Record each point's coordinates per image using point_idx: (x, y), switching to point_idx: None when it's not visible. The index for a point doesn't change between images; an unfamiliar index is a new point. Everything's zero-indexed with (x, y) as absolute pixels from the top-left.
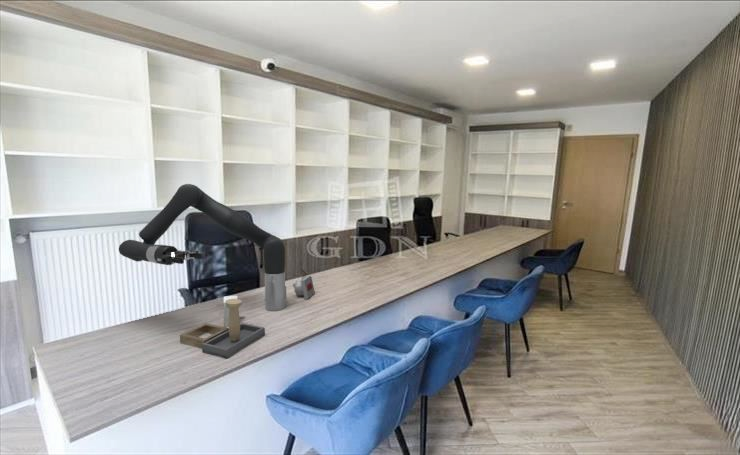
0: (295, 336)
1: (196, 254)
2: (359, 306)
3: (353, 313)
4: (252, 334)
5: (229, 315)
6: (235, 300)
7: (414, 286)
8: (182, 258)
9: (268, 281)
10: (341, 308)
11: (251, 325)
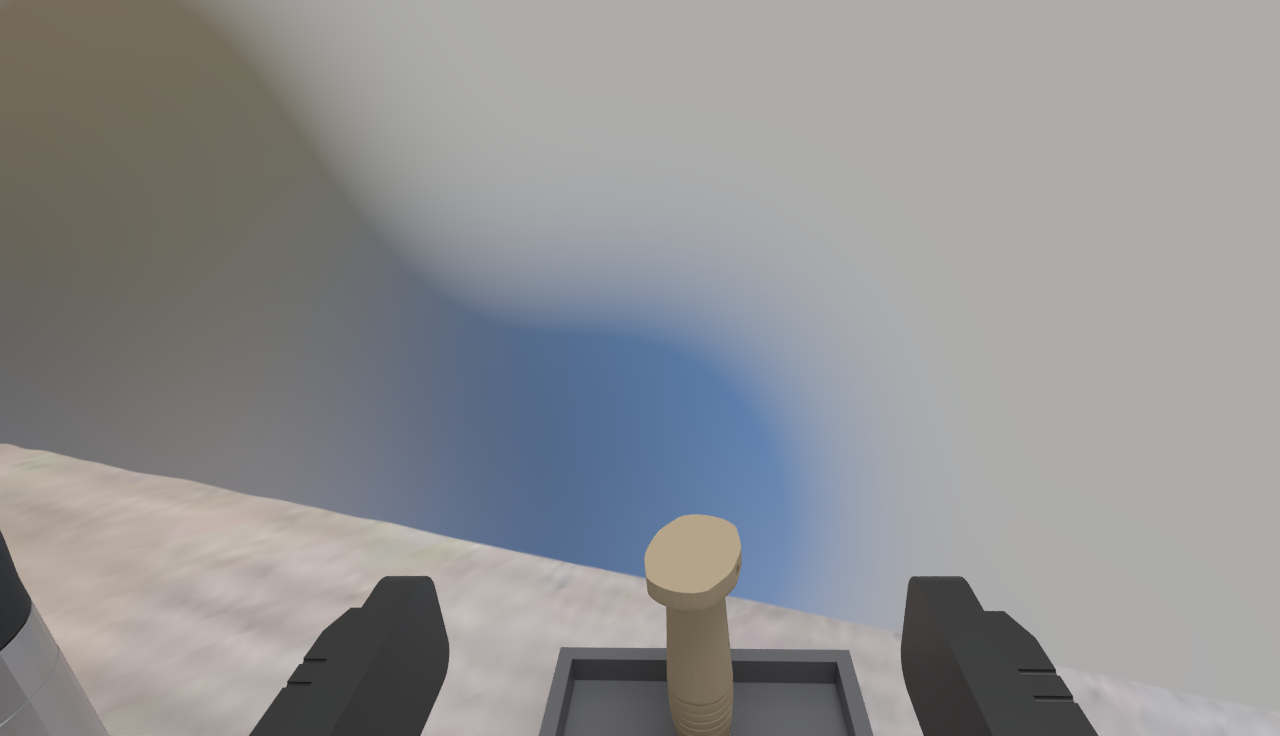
0: (548, 571)
1: (370, 709)
2: (213, 514)
3: (298, 507)
4: (655, 651)
5: (725, 630)
6: (673, 552)
7: (13, 450)
8: (938, 578)
9: (21, 716)
10: (221, 553)
11: (549, 724)
